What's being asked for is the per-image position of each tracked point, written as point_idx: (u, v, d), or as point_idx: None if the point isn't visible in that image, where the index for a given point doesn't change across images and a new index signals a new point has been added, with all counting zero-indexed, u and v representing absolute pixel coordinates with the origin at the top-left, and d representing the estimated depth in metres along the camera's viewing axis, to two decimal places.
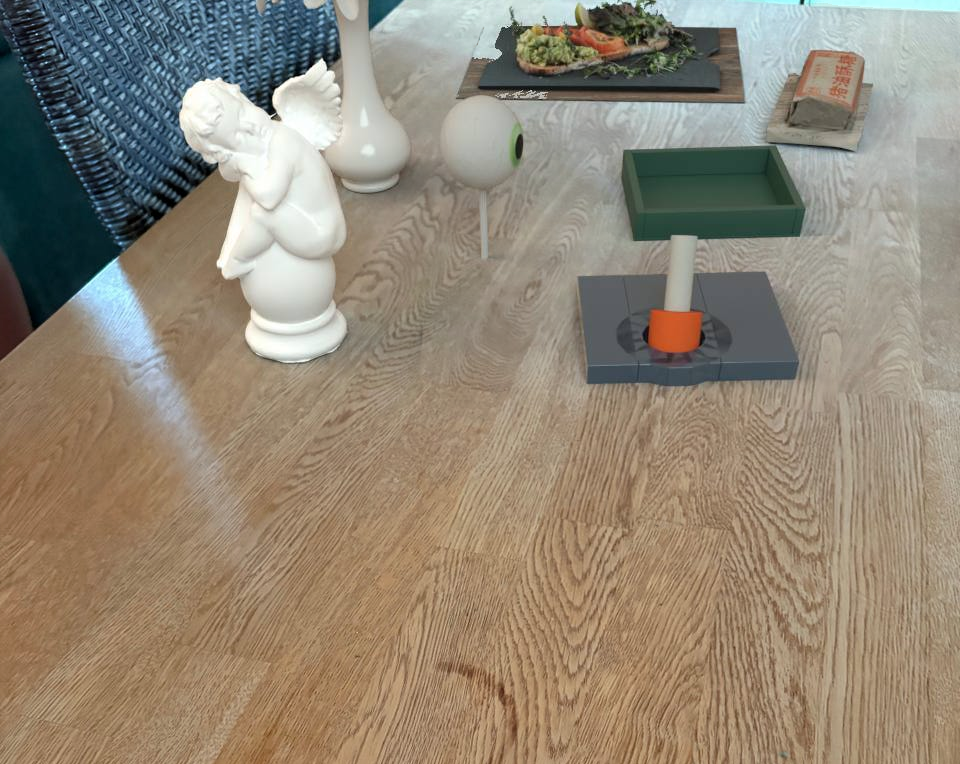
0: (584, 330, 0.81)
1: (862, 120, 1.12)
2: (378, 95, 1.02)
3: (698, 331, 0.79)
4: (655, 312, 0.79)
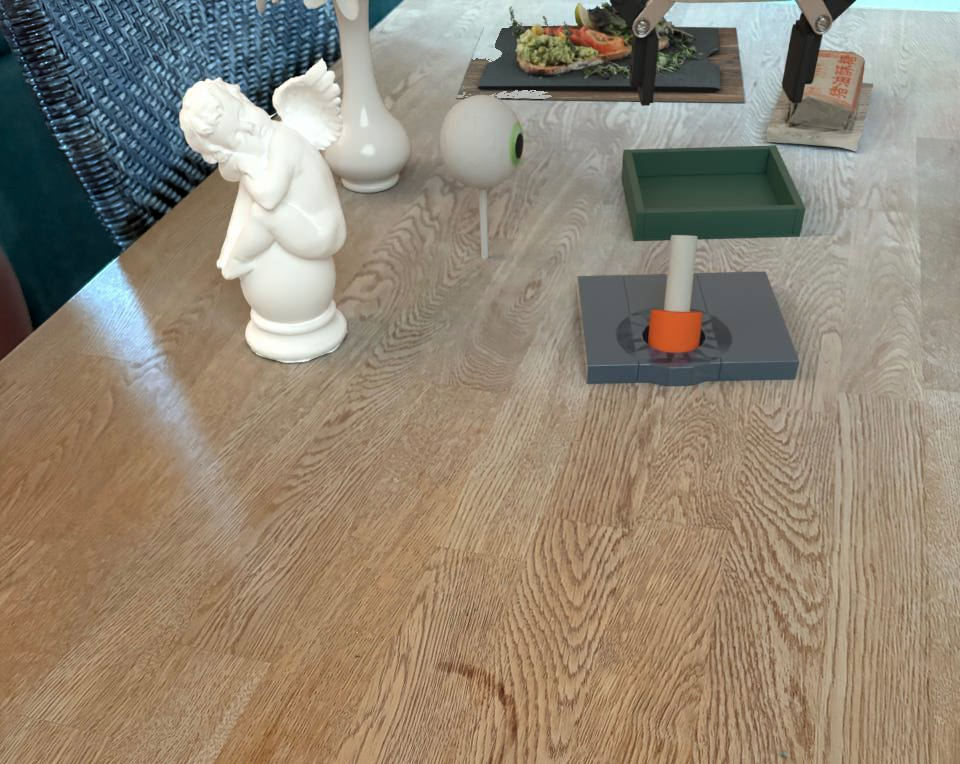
0: (584, 330, 0.81)
1: (862, 120, 1.12)
2: (378, 95, 1.02)
3: (698, 331, 0.79)
4: (655, 312, 0.79)
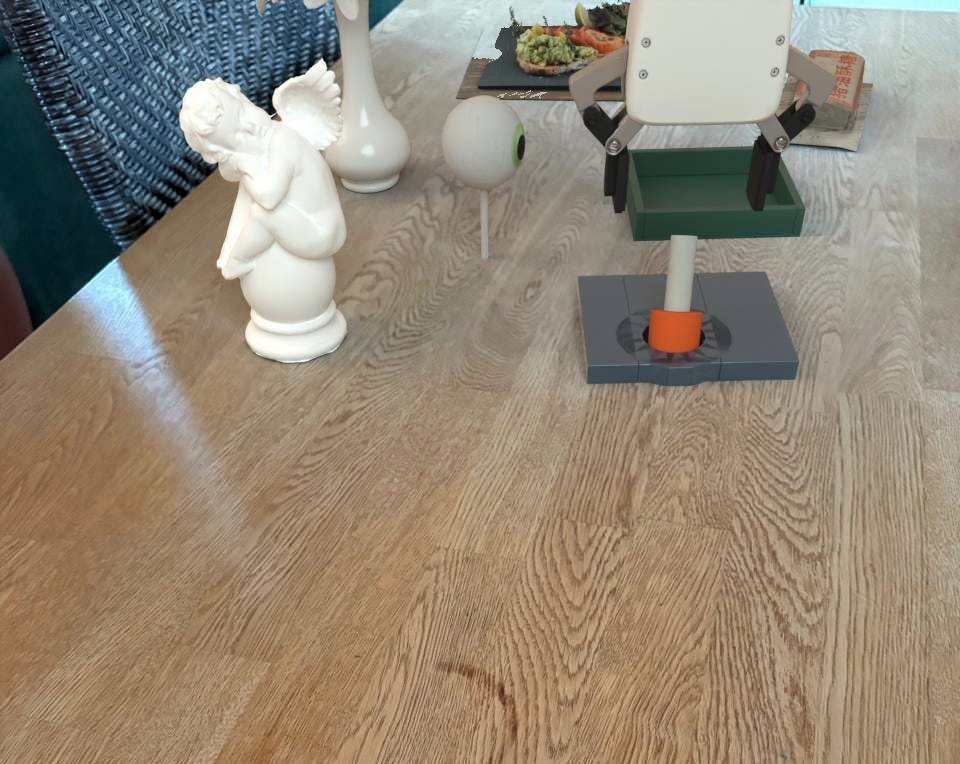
0: (584, 330, 0.81)
1: (862, 120, 1.12)
2: (378, 95, 1.02)
3: (698, 331, 0.79)
4: (655, 312, 0.79)
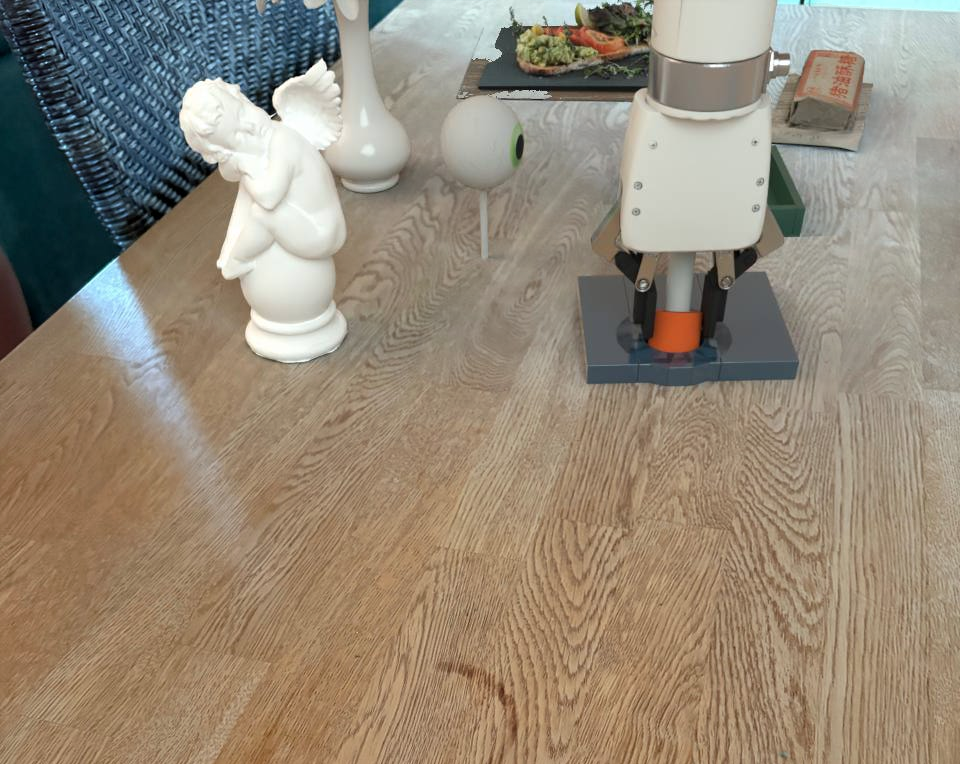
0: (584, 330, 0.81)
1: (862, 120, 1.12)
2: (378, 95, 1.02)
3: (698, 331, 0.79)
4: None
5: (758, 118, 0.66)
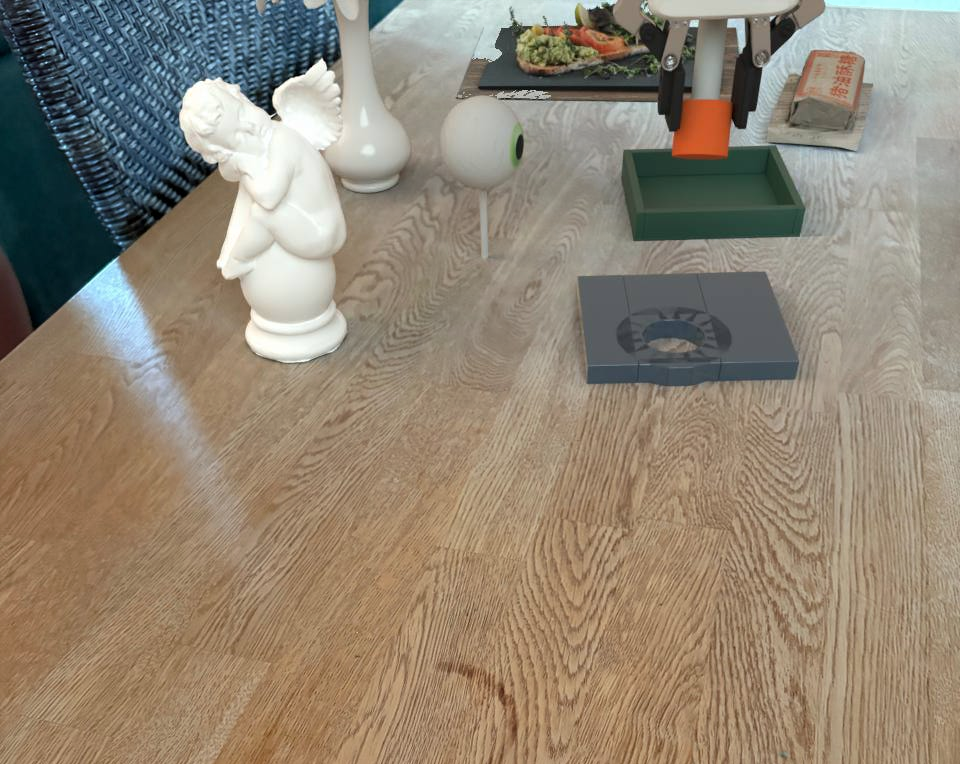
0: (584, 330, 0.81)
1: (863, 120, 1.12)
2: (378, 95, 1.02)
3: (728, 123, 0.72)
4: None
5: None
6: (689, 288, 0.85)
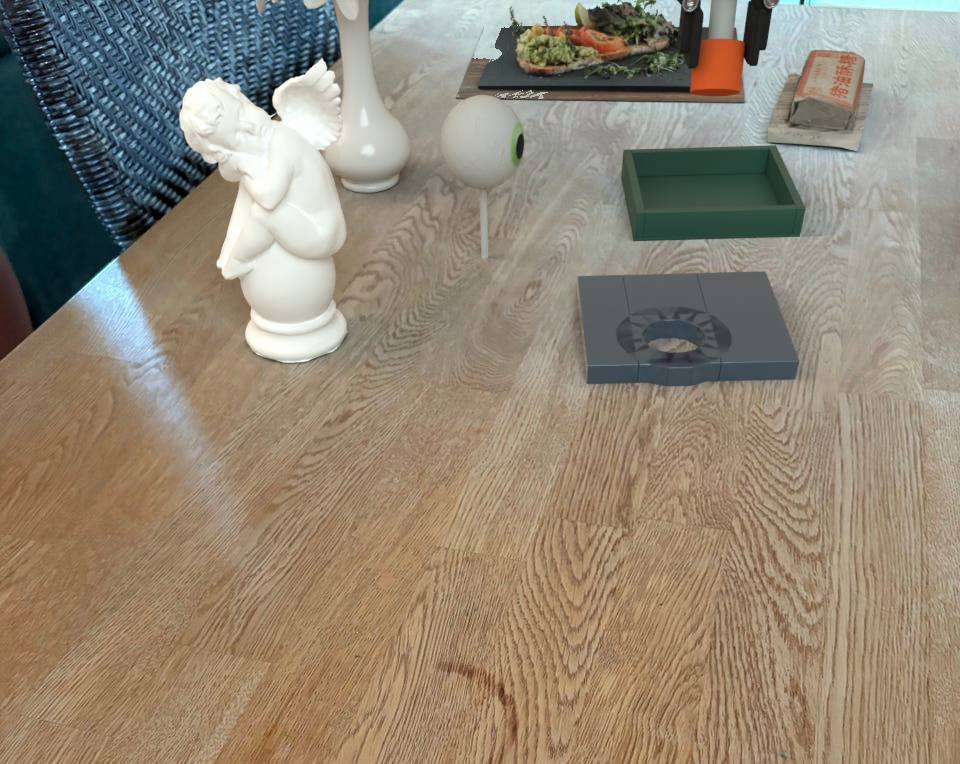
0: (584, 330, 0.81)
1: (863, 120, 1.12)
2: (378, 95, 1.02)
3: (741, 61, 0.81)
4: None
5: None
6: (689, 288, 0.85)
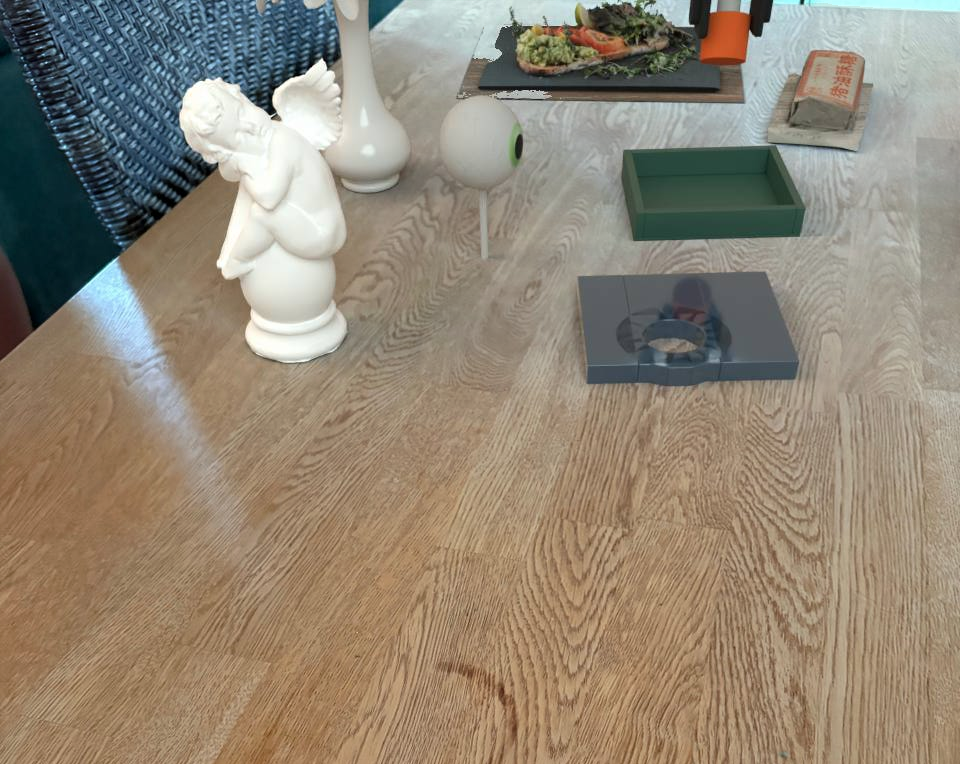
0: (584, 330, 0.81)
1: (863, 120, 1.12)
2: (378, 95, 1.02)
3: (747, 32, 0.88)
4: None
5: None
6: (689, 288, 0.85)
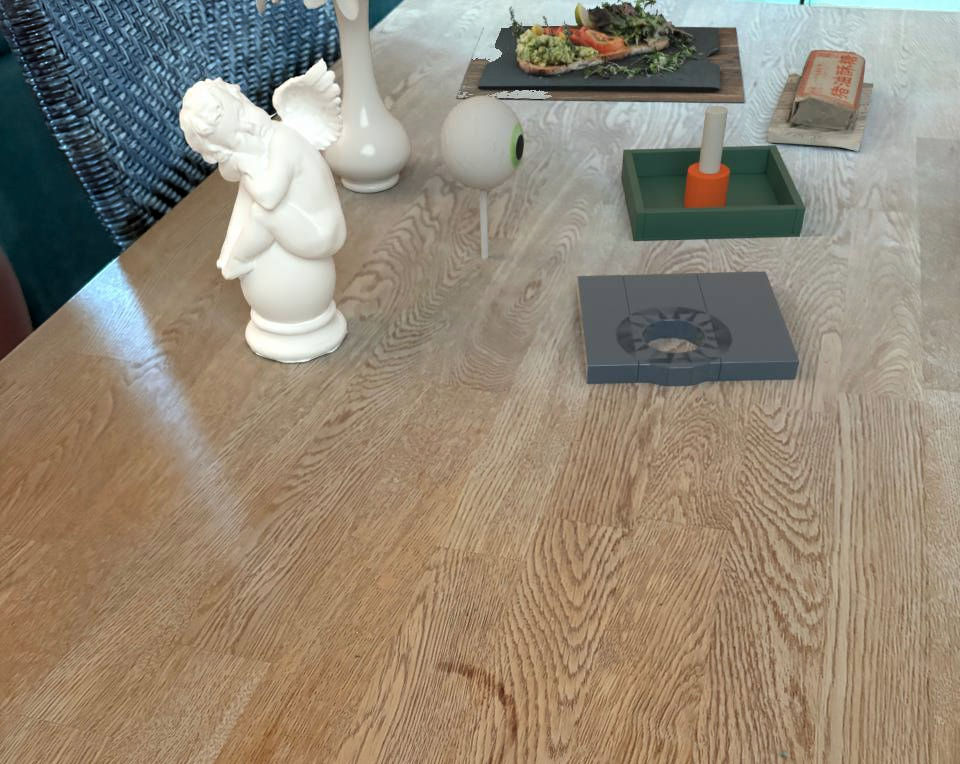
0: (584, 330, 0.81)
1: (863, 120, 1.12)
2: (378, 95, 1.02)
3: (725, 189, 0.98)
4: (690, 175, 0.98)
5: None
6: (689, 288, 0.85)
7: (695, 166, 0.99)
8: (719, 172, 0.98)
